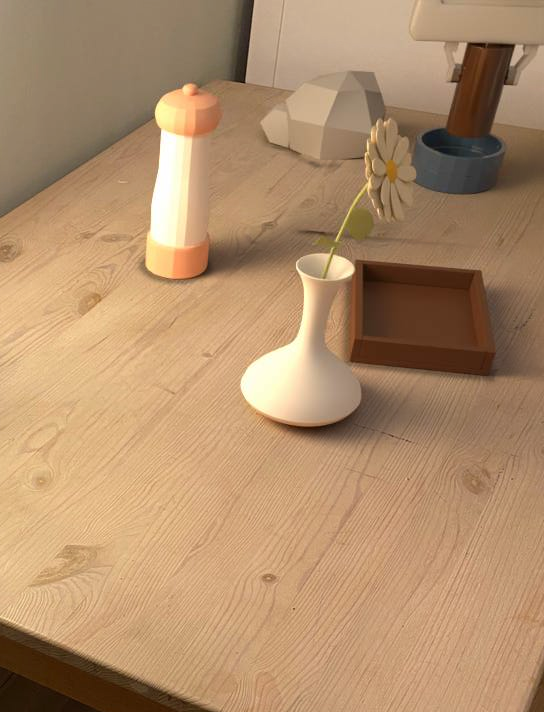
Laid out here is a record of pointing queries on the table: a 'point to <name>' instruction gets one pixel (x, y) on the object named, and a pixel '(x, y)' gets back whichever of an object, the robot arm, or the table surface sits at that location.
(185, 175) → the pepper shaker
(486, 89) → the bottle
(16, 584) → the table surface
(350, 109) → the rock
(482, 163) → the bowl
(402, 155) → the flower in vase
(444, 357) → the tray
